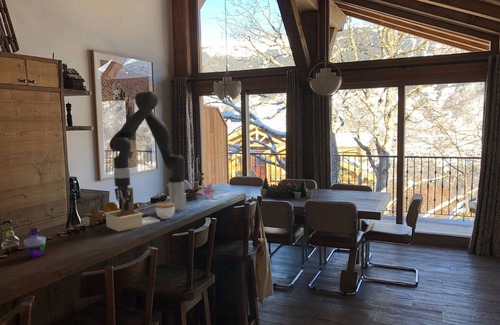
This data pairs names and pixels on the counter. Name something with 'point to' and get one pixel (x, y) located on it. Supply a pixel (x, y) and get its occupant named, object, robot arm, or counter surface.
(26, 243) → the potion bottle
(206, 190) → the lily
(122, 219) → the carton
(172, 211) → the lidded jar
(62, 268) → the counter surface
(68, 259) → the counter surface
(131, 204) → the wooden block
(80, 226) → the counter surface
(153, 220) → the grey tile
